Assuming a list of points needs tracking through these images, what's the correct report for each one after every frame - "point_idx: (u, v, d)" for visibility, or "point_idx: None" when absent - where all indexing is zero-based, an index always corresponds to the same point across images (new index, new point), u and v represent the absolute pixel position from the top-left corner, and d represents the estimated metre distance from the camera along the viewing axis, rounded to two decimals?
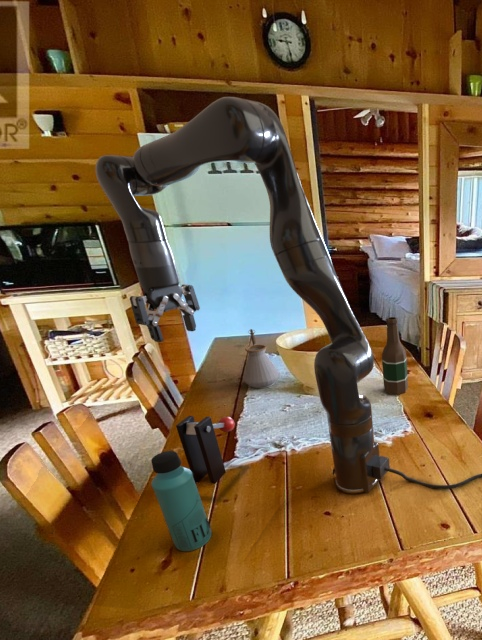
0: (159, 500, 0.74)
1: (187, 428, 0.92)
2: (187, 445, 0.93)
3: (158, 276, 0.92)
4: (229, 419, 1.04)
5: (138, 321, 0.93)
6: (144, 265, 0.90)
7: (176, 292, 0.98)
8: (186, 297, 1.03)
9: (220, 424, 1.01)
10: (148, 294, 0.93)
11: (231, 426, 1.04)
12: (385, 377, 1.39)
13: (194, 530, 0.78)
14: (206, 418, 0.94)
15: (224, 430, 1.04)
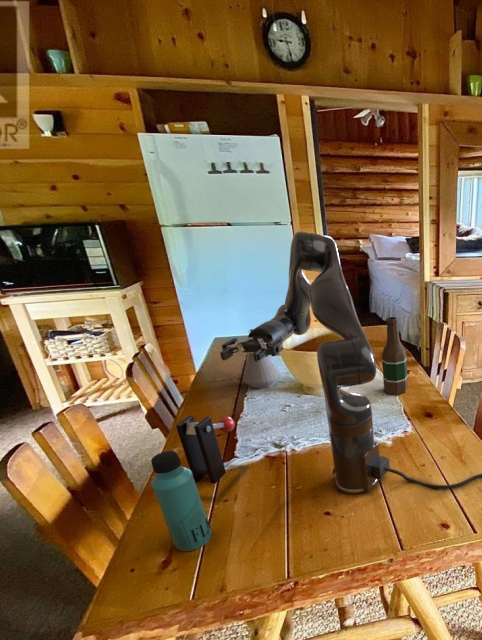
0: (159, 500, 0.74)
1: (187, 428, 0.92)
2: (187, 445, 0.93)
3: (255, 328, 1.20)
4: (229, 419, 1.04)
5: None
6: None
7: (264, 340, 1.16)
8: None
9: (220, 424, 1.01)
10: None
11: (231, 426, 1.04)
12: (385, 377, 1.39)
13: (194, 530, 0.78)
14: (206, 418, 0.94)
15: (224, 430, 1.04)
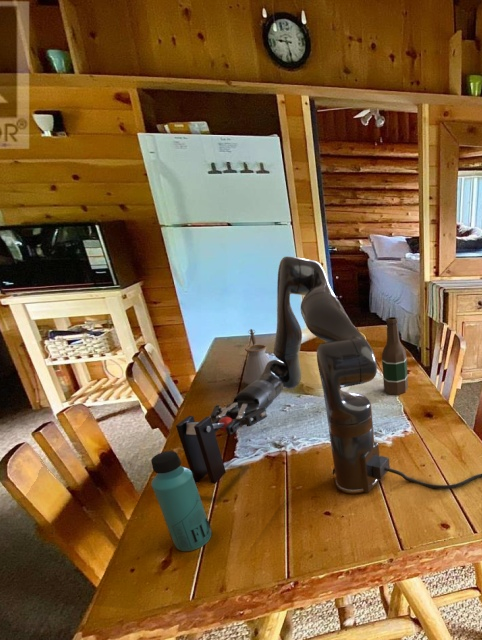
0: (159, 500, 0.74)
1: (187, 428, 0.92)
2: (187, 445, 0.93)
3: (241, 391, 1.14)
4: (229, 419, 1.04)
5: None
6: None
7: (250, 407, 1.10)
8: None
9: (220, 424, 1.01)
10: None
11: None
12: (385, 377, 1.39)
13: (194, 530, 0.78)
14: (206, 418, 0.94)
15: (224, 430, 1.04)
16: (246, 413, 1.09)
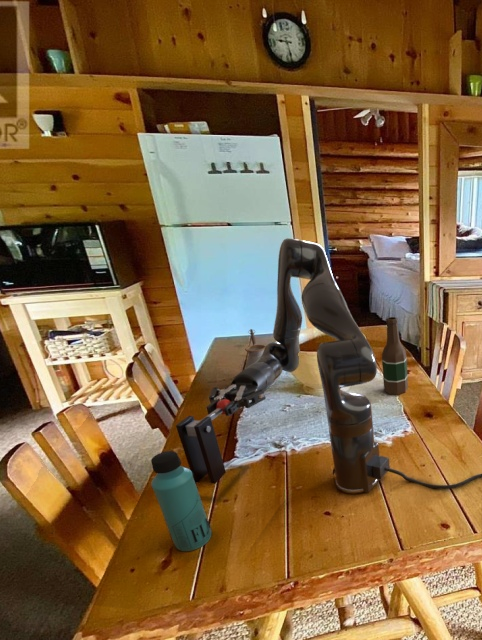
0: (159, 500, 0.74)
1: (188, 431, 0.92)
2: (187, 445, 0.93)
3: (239, 373, 1.13)
4: (226, 403, 1.02)
5: None
6: None
7: (248, 388, 1.09)
8: None
9: (218, 411, 1.01)
10: None
11: None
12: (385, 377, 1.39)
13: (194, 530, 0.78)
14: (206, 418, 0.94)
15: None
16: (244, 395, 1.07)
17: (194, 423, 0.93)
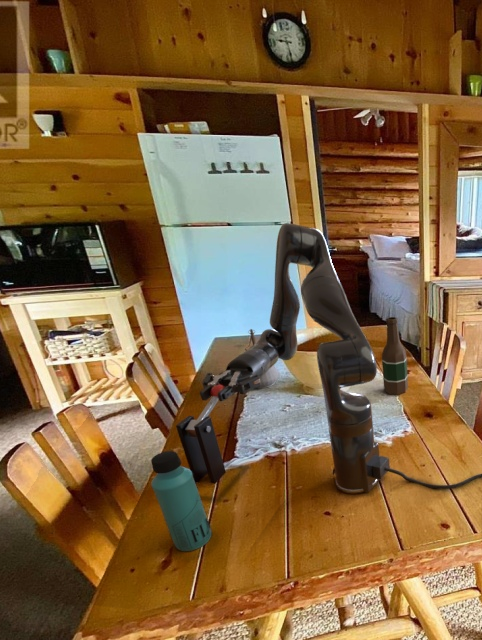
0: (159, 500, 0.74)
1: (188, 433, 0.93)
2: (187, 445, 0.93)
3: (234, 359, 1.10)
4: (220, 390, 1.00)
5: None
6: None
7: (243, 374, 1.06)
8: None
9: (214, 401, 0.99)
10: None
11: None
12: (385, 377, 1.39)
13: (194, 530, 0.78)
14: (206, 418, 0.94)
15: None
16: (239, 380, 1.05)
17: (193, 424, 0.93)
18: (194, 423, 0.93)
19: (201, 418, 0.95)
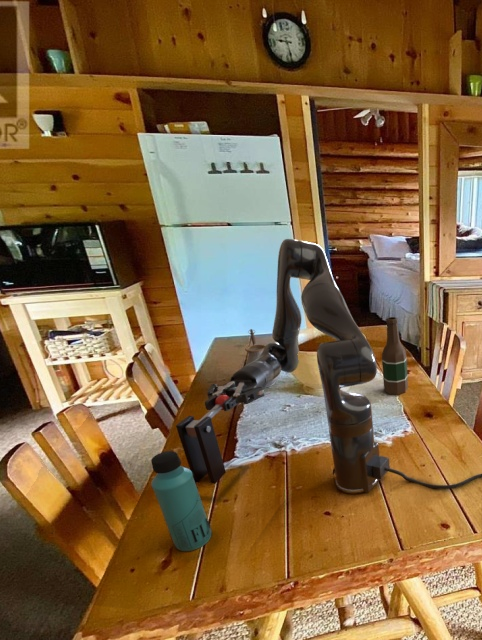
0: (159, 500, 0.74)
1: (188, 431, 0.93)
2: (187, 445, 0.93)
3: (238, 370, 1.13)
4: (225, 399, 1.02)
5: None
6: None
7: (247, 385, 1.09)
8: None
9: (217, 408, 1.00)
10: None
11: None
12: (385, 377, 1.39)
13: (194, 530, 0.78)
14: (206, 418, 0.94)
15: (223, 409, 1.03)
16: (243, 391, 1.07)
17: (194, 423, 0.93)
18: (195, 422, 0.93)
19: None
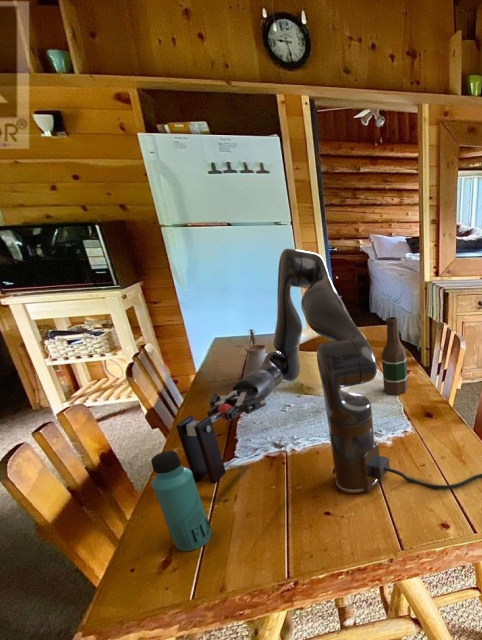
0: (159, 500, 0.74)
1: (187, 430, 0.92)
2: (187, 445, 0.93)
3: None
4: (227, 407, 1.03)
5: None
6: None
7: (249, 395, 1.10)
8: None
9: (219, 415, 1.01)
10: None
11: None
12: (385, 377, 1.39)
13: (194, 530, 0.78)
14: (206, 418, 0.94)
15: (224, 418, 1.03)
16: (245, 401, 1.08)
17: (194, 423, 0.93)
18: (196, 422, 0.94)
19: None
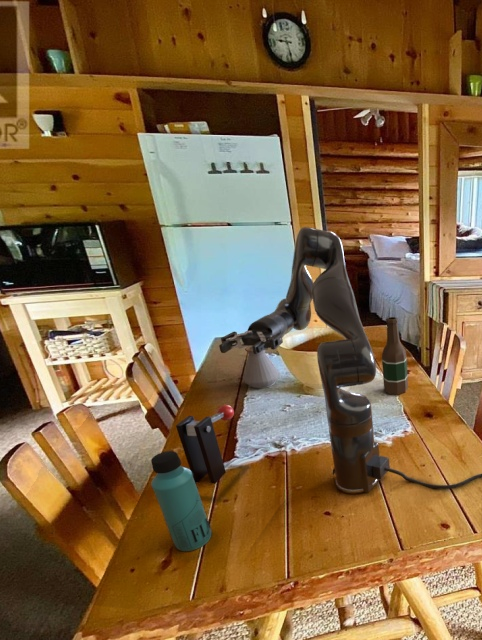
0: (159, 500, 0.74)
1: (187, 430, 0.92)
2: (187, 445, 0.93)
3: None
4: (228, 408, 1.03)
5: None
6: None
7: (264, 334, 1.16)
8: None
9: (219, 415, 1.01)
10: None
11: (231, 415, 1.04)
12: (385, 377, 1.39)
13: (194, 530, 0.78)
14: (206, 418, 0.94)
15: (224, 419, 1.03)
16: (264, 338, 1.14)
17: (194, 423, 0.93)
18: (196, 422, 0.94)
19: None
